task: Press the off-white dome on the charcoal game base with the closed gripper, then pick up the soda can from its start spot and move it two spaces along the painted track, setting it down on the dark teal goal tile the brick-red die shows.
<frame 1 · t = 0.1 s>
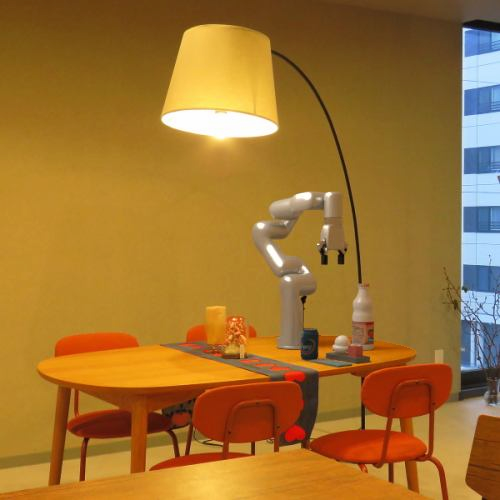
hand: (332, 264, 312), 37 cm above the table, tool pointing down, fingers open, 9 cm apart
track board: (330, 363, 291), on the table
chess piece: (297, 339, 361), on the table
fruit juice: (362, 349, 331), on the table
red die: (355, 356, 297), resting on game base
dome: (342, 343, 302), point 6 cm above the table, slide at 0.0 cm
soda can: (309, 360, 300), on the table
game base: (347, 359, 300), on the table
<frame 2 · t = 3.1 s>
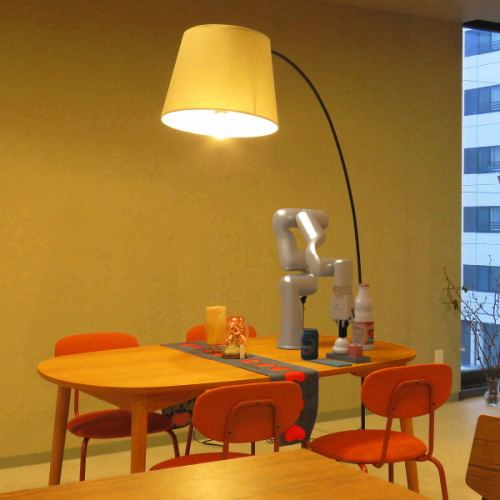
hand: (342, 337, 302), 9 cm above the table, tool pointing down, fingers closed
dome: (342, 344, 303), point 6 cm above the table, slide at 0.7 cm, touching gripper
everything else where it was.
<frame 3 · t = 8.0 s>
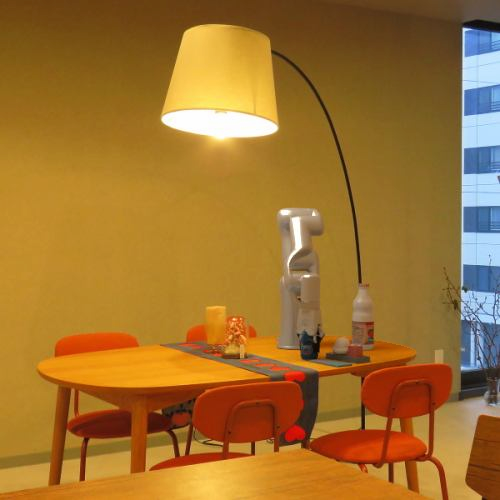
hand: (309, 351, 299), 3 cm above the table, tool pointing down, fingers closed on soda can, 6 cm apart
dome: (342, 344, 303), point 5 cm above the table, slide at 0.7 cm
soda can: (309, 360, 300), on the table, touching gripper
everything else where it was.
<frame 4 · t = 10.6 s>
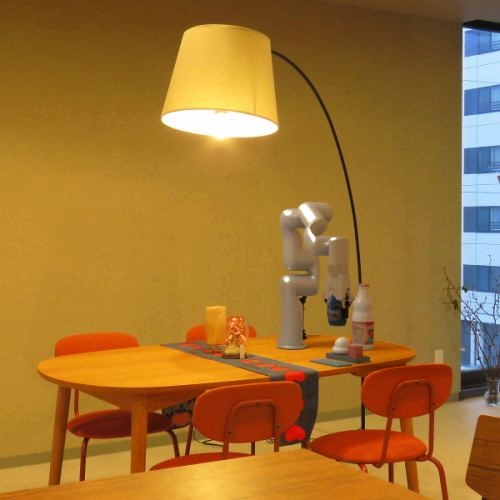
hand: (337, 317, 288), 18 cm above the table, tool pointing down, fingers closed on soda can, 6 cm apart
soda can: (337, 326, 288), point 14 cm above the table, touching gripper
everything else where it was.
when the fingers open (5 cm above the table, at t = 13.5 s): soda can drops 1 cm, resting on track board.
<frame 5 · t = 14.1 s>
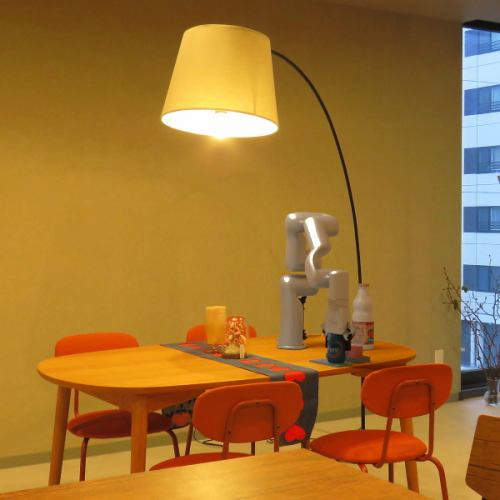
hand: (337, 349, 288), 6 cm above the table, tool pointing down, fingers open, 9 cm apart
soda can: (336, 363, 289), resting on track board
everything else where it was.
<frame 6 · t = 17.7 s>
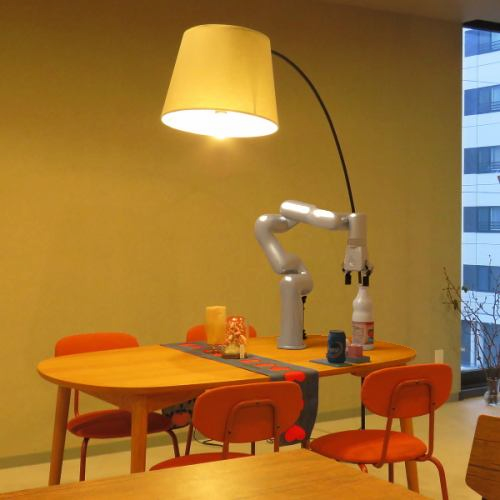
hand: (356, 285, 313), 28 cm above the table, tool pointing down, fingers open, 9 cm apart
nothing on the table moved.
at the end: dome slide at 0.7 cm; soda can 0.8 cm from the target spot, resting on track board; soda can tilted 0° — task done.
